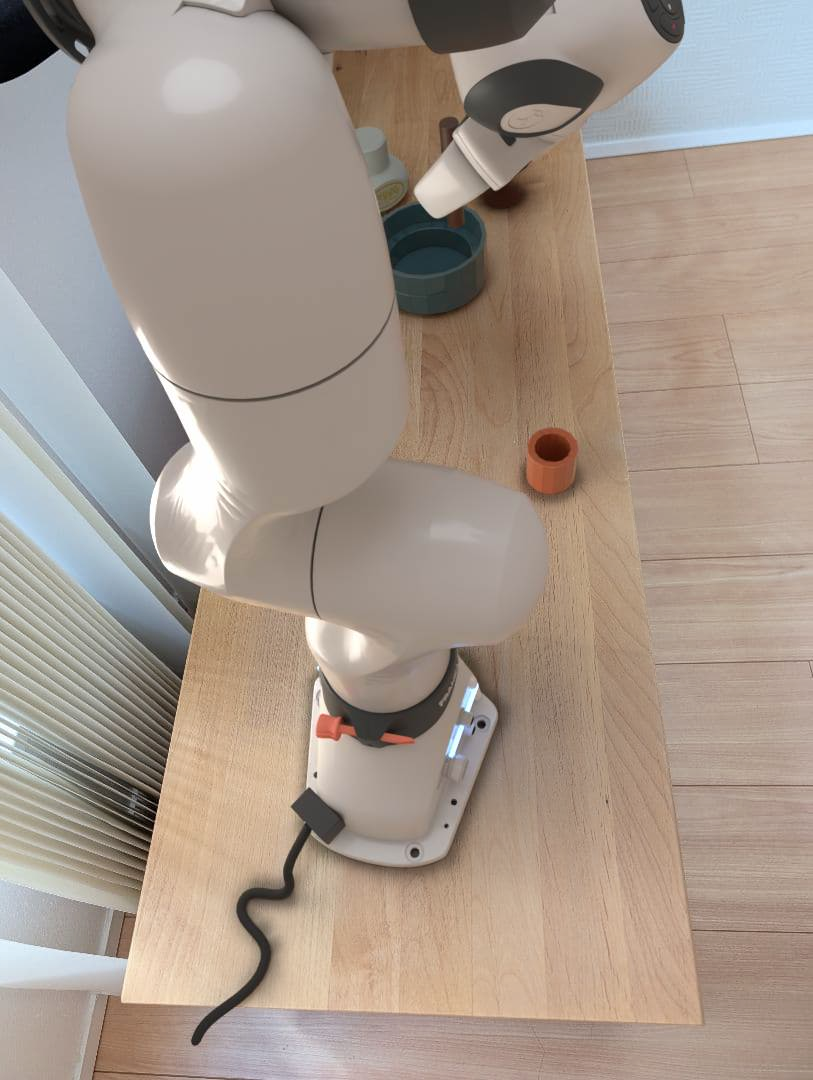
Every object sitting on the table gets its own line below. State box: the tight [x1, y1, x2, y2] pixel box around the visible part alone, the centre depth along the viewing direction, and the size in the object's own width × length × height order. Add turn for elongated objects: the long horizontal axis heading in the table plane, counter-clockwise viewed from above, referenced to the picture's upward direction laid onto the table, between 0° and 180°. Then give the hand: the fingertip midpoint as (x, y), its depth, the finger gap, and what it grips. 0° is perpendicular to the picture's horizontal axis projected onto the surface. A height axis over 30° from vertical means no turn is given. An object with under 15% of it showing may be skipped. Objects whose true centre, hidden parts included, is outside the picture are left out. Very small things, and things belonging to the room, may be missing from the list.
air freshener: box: [355, 126, 410, 213], centre depth 114 cm, size 11×8×10 cm
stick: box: [438, 116, 465, 228], centre depth 84 cm, size 2×2×12 cm
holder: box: [525, 426, 579, 495], centre depth 87 cm, size 5×6×6 cm
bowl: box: [382, 200, 489, 315], centre depth 105 cm, size 15×15×7 cm
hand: (446, 170), depth 84 cm, fingers closed on stick, 2 cm apart
